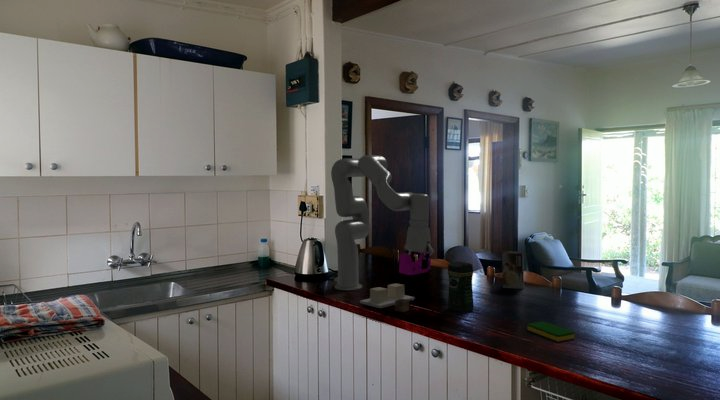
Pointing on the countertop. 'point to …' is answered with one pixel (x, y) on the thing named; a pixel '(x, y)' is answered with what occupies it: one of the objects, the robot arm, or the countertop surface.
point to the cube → (402, 305)
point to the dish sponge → (550, 331)
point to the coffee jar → (460, 286)
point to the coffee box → (513, 270)
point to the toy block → (412, 265)
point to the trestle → (386, 296)
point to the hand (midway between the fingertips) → (418, 267)
